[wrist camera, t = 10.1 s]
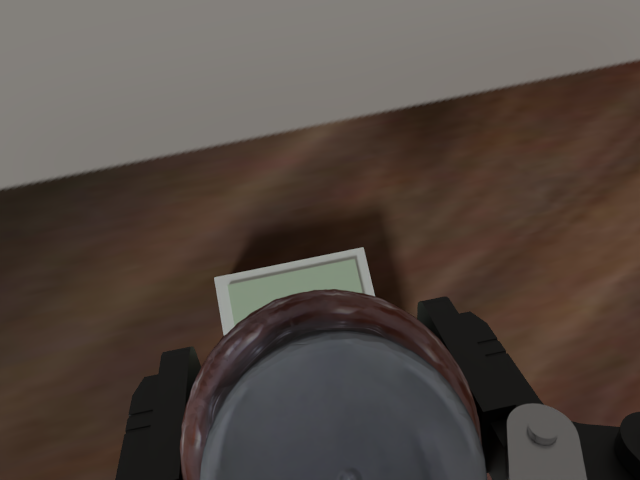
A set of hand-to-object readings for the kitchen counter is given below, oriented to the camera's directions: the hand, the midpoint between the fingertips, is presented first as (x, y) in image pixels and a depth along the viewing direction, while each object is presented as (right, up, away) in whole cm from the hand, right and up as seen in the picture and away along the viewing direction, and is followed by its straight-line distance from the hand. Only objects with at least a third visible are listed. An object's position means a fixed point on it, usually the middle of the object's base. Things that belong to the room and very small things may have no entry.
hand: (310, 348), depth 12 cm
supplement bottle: (0, -3, +5) cm, 6 cm away
